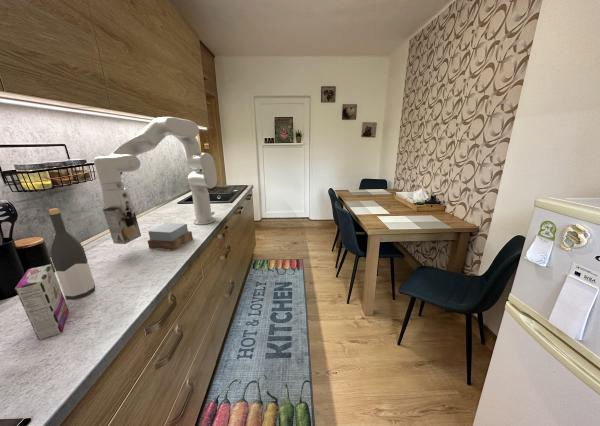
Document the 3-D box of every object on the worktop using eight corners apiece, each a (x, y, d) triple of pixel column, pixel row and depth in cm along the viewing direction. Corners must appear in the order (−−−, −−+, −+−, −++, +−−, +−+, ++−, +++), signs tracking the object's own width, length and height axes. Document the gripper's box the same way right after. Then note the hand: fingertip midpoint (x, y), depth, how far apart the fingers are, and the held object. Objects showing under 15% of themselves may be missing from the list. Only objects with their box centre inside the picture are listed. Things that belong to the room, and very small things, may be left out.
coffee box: (130, 235, 116) (121, 203, 110) (141, 236, 114) (133, 203, 109) (112, 243, 107) (102, 209, 102) (124, 244, 106) (114, 209, 101)
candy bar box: (47, 317, 71) (27, 268, 67) (69, 310, 74) (52, 263, 69) (36, 342, 63) (13, 287, 58) (62, 333, 65) (42, 280, 61)
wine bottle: (90, 283, 88) (65, 204, 79) (100, 290, 84) (75, 207, 75) (61, 295, 81) (30, 210, 73) (70, 303, 77) (39, 214, 69)
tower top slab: (167, 230, 127) (165, 222, 126) (188, 231, 125) (186, 223, 124) (150, 239, 116) (148, 231, 115) (172, 241, 114) (170, 232, 113)
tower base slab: (169, 237, 130) (167, 229, 128) (192, 239, 127) (191, 231, 126) (149, 249, 117) (147, 240, 115) (175, 251, 114) (173, 242, 113)
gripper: (137, 184, 105) (146, 223, 110) (104, 184, 108) (115, 221, 114) (122, 188, 98) (133, 229, 103) (87, 187, 101) (99, 227, 107)
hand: (123, 225), depth 108 cm, fingers closed on coffee box, 6 cm apart
